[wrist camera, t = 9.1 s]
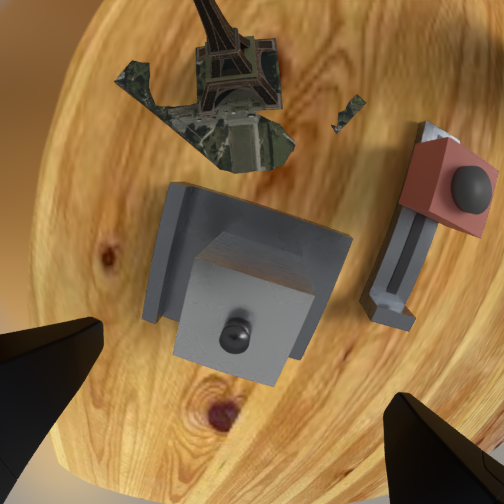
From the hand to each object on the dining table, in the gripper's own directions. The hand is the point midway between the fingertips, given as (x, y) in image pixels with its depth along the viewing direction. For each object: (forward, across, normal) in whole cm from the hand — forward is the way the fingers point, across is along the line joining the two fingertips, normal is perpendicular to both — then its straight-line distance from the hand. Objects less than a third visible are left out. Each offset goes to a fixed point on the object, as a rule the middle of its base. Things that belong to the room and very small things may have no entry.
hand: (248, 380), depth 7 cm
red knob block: (+11, -9, -8) cm, 16 cm away
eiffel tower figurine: (+12, +5, -11) cm, 17 cm away
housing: (+10, +1, +1) cm, 11 cm away
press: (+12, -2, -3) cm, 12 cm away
